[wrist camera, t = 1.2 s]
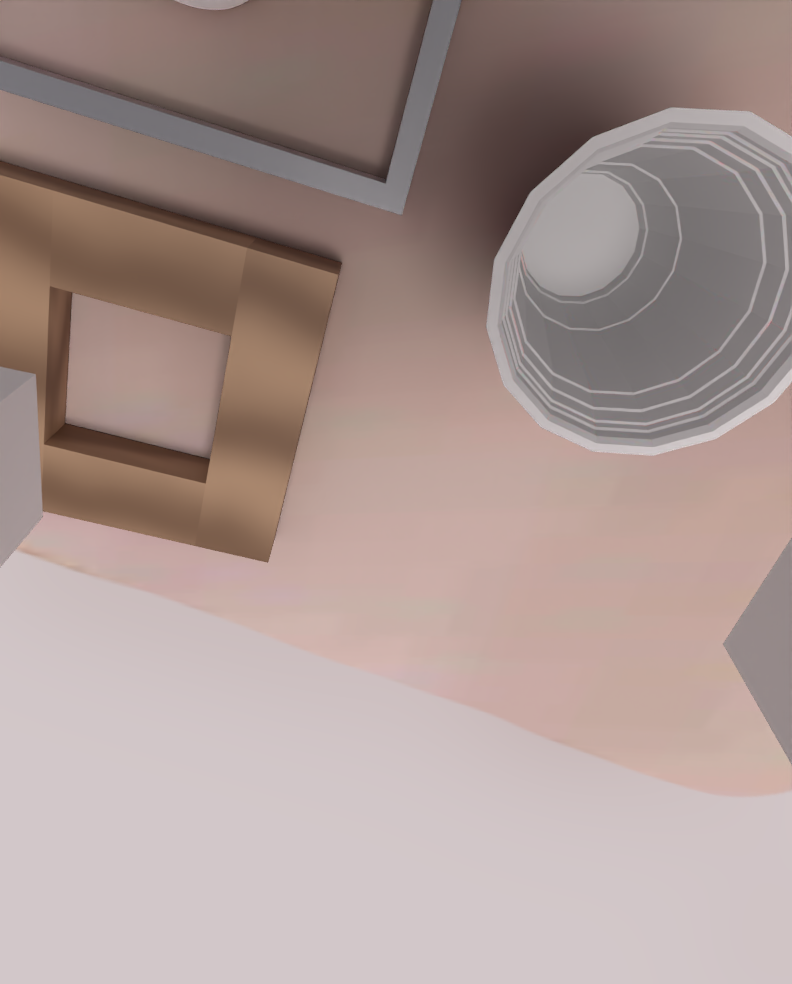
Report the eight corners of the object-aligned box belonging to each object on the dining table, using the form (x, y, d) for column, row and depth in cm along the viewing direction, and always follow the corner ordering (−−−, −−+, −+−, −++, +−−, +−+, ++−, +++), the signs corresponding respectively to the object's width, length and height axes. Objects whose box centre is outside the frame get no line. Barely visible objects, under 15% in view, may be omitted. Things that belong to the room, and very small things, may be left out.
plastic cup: (412, 196, 30) (424, 245, 20) (642, 46, 27) (796, 11, 17) (519, 391, 35) (574, 514, 24) (725, 280, 32) (885, 365, 22)
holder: (-18, 155, 29) (-51, 160, 27) (341, 262, 32) (338, 274, 29) (-15, 469, 37) (-40, 492, 35) (274, 537, 39) (268, 562, 37)
